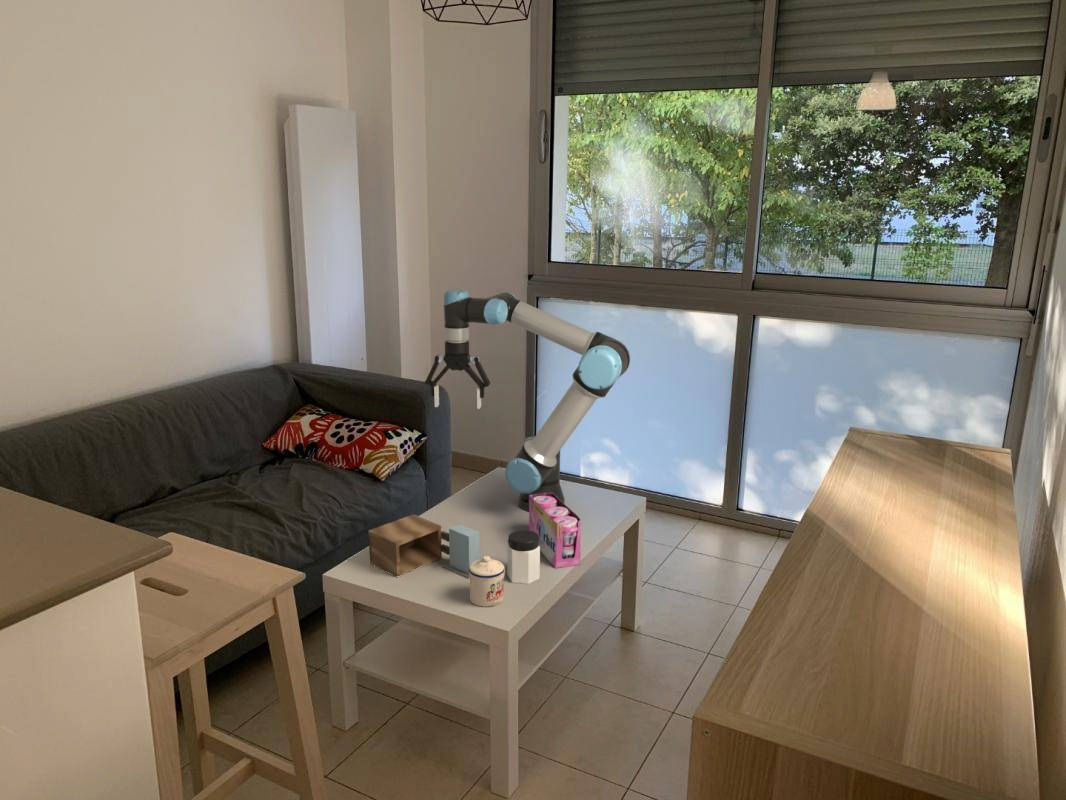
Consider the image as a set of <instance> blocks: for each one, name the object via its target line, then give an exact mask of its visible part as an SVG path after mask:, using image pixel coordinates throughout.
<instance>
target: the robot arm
mask: <svg viewBox="0 0 1066 800" xmlns="http://www.w3.org/2000/svg"><path fill="white" fill-rule="evenodd" d="M469 294H470V293H469V291H468V290H465V289H450V290H447V291H445V292H444V295H443V296H444V297H443V304H442V305H443V313H444V314H443V317H444V323H443V324H444V325H443V326H444V328H443V329H444V340H445V341H444V355H440V354H436V355H435V356H434V362H433V364H432V367H431V369H430V371H429V373H428V375H427V377H426V378H425V382H424V383H425V385H429V386H430V395H431V396H432V397H434V408H438V407H440V406H439V405H440V395H439V394H440V391H439V389H440V388H439V387H440V386H439V384H438V382H439V381H440V380H441V379H442V378H443V377H444V376H445V374H446V373H447V372H448V371H449V370H451V371H460V372H461V371H462V372H463V371H464V372H465V373H467V374H468V376H469V377H470V378H471V379H472V380H473V382H475V384H476V385H477V388H476V401H477V402H476V407H477V408H476V409H478V410H480V409H481V407H482V399H484V397H485V388H486V387H489V386H490V384H491V381H490V380H489V377H488V375H487V373H486V372H485V369H484V368H483V365H482V364H481V359H480V356H479V355H476V356H471V355H470V341H469V339H470V323H471V324H472V323H474V324H488V325H494V326H495V325H502V324H504V323H505V321H506V322H509V323H511V324H513V325H515V326H517V327H519V328H522V329H524V330H525V331H526V330H527V331H529V332H531V333H533V334H536V335H538V336H540V337H541V338H544V339H546V340H548V341H550V342H552V343H555V344H557V345H559V346H562V347H564V348H566V349H568V350H569V351H573V352H574V353H577V354H579V355H581V358H580V360H579V362H578V366H577V367H576V369H575V370H574V372H573V373H572V380H573V382H572V384H571V385H570V386H569V388H568V389H567V390H566V392H565V393H564V395H563V396H562V397H561V399H560V401H559V402H558V403H557V405H556V406H555V408H554V409H553V411H552V412H551V413H550V415H549V416H548V418H547V419H546V421H545V422H544V424H543V425H542V426H541V427H540V429H539V431H538V432H537V433H536V435H535V436H529V437H526V438H525V439H524V443H523V445H522V447H520V449H519V451H518V452H517V454H516V455H515V456H514V458H513V459H511V460H510V461H508V462H507V465H506V467H505V470H504V476H505V479H506V482H507V483H508V485H509V487H510V488H511V489H512V490H513V491H516V492H517V493H519V497H518V506H519V508H521V510H523V511H526V510H527V511H526V512H529V496H530V495H535V494H543V493H552V492H553V493H554V494H555V495H556V496H557V497H558V498H559V499H560V500H561V501H562V502H563V503H564V504H565V503H566V501H565V496H564V493H563V489H562V485H561V484H560V483H561V481H560V480H561V479H560V478H561V477H560V476H561V473H560V472H561V450H562V448H563V447H564V445H565V444H566V443H567V441H568V440H569V439H570V437H571V436H572V434H573V433H574V431H575V430H576V428H577V427H578V426H579V424H580V423H581V422H582V421H583V419H584V418H585V416H587V413H588V412H589V410H591V408H592V406H593V405H594V404H595V403H596V401H597V400H598V399H602V398H605V397H606V396H607V394H608V393H609V392H610V390H611V389H612V388H613V386H614V385H615V384H616V382H617V381H618V379H619V378H620V377H621V376H623V375H624V373H626V371H627V370H628V369H629V367H630V364H631V356H630V351H629V350H628V348H627V347H626V345H625V344H624V343H623V342H621V341H619V340H618V339H615V338H613V337H611V336H609V335H606V334H604V333H602V332H600V331H594V332H591V331H589V330H586V329H585V328H582V327H580V326H578V325H576V324H573V323H571V322H569V321H567V320H565V319H563V318H560V317H557V316H556V315H553V314H551V313H550V312H549V313H548V312H546V311H545V310H542V309H540V308H537V307H535V306H532V305H530V304H529V303H526V302H523V301H521V300H519V299H518V298H517V296H516V295H515V294H513V293H512V292H499V293H498V294H495V295H491V296H488V297H485V298H483V297H479V298H478V297H470V295H469ZM442 361H444V363H445V364H446V366H445V367H444V368H443V369H442V370H441V371H440V372H439V374H438V375H436V377H435V378H434V380H432V379H433V377H434V375H435V373H436V371H437V369H438V367H439V365H440V363H441V362H442ZM470 362H472V364H474V365H475V368H476V369H477V372H478V374H479V376H480V377H479V376H478V375H477V373H476V372H475V371H474V370H473V368H472V367H471V365H470V364H469V363H470ZM565 505H566V504H565Z"/></svg>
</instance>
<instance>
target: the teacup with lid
mask: <svg viewBox="0 0 1066 800" xmlns="http://www.w3.org/2000/svg"><path fill="white" fill-rule="evenodd" d="M469 572H470V578H469V601H471V603H472V604H474V605H476V606H479V607H484V608H488V607H489V606H490V607H493V606H497V605H500V604H501V603H502V602H503V600H504V598H505V597H504V596H505V595H504V590H505V589H504V578H505V573H506V568H505V565H504V564H503V563H502V562H501V561H499V560H497V559H493V558H491V556H488V555H484V556H483V557H482V558H480V560H477V561H474V562H473V563H472V564H471V565H470V566H469Z"/></svg>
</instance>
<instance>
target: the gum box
mask: <svg viewBox="0 0 1066 800" xmlns="http://www.w3.org/2000/svg"><path fill="white" fill-rule="evenodd" d="M528 521H529V523H528V525H529V526H528V531H532V532H535V533H537V534H538V536H539V546H540V553H542V554H543V556H544V557H545V558H546V559H547V560H548V562H549V563H551V565H552V566H553V567H554V568H555V569H560V568H568V567H572V566H579V565H581V557H582V555H581V552H582V551H581V549H582V543H581V542H582V539H581V538H582V520H581V518H580V517H579V515H577V513H576V512H574V511H573V510H571V508H570V507H569V506H568V505H566V504H564V503H563V502H562V501H561V500H560V499H559V498H558V497H557V496H556V495H555V494H554V493H553V492H552V493H543V494H535V495H530V496H529V511H528Z"/></svg>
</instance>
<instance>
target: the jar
mask: <svg viewBox="0 0 1066 800" xmlns="http://www.w3.org/2000/svg"><path fill="white" fill-rule="evenodd" d="M506 546H507V547H506V548H507V549H506V551H507V552H506V553H507V554H506V556H507V557H506V558H507V561H506V565H507V566H506V570H507V573H506V575H507V577H508V578H509V580H510V581H511V583H512V584H513V583H514V584H522V585H530V584H532V583H534V582H536V581H537V580H539V579H540V578H541V577H540V576H541V575H540V574H541V572H540V570H541V567H540V566H541V550H540V546H539V536H538V534H537V533H535V532H532V531H529V529H528V530H527V529H526V530H525V529H523V530H515V531H513V532H510V534H508V539H507V545H506Z"/></svg>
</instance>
